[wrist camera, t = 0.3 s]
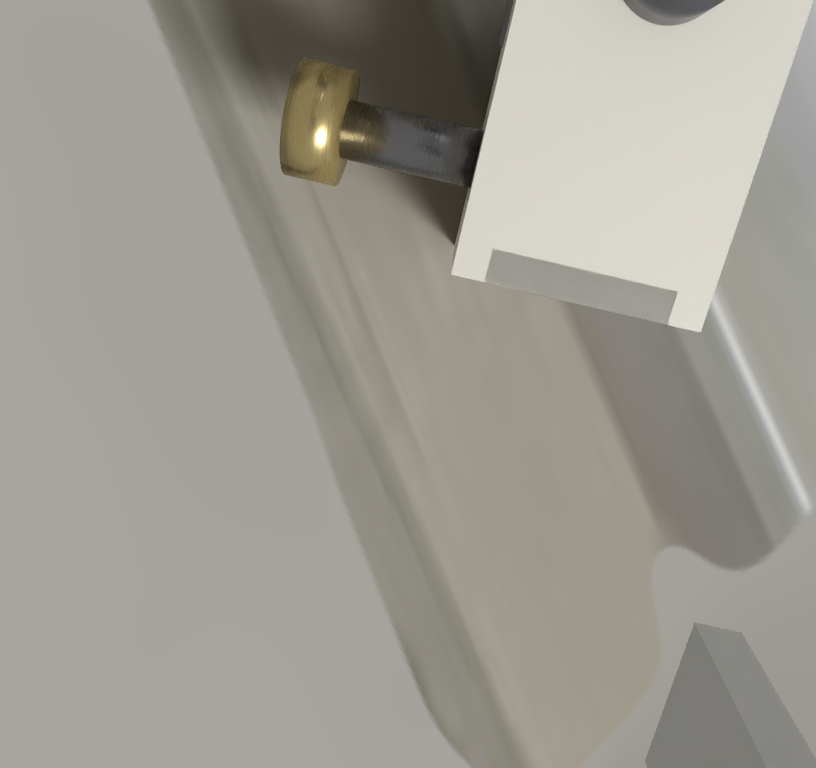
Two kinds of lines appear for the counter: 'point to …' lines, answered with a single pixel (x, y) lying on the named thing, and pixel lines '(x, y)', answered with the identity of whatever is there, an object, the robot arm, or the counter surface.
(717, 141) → the console
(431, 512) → the counter surface
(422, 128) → the knob
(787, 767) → the robot arm
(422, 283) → the counter surface
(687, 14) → the dial
